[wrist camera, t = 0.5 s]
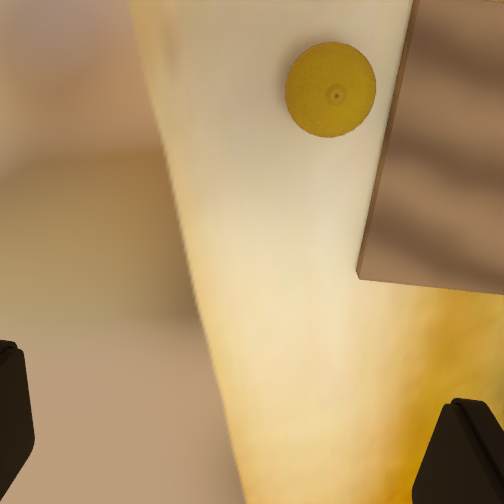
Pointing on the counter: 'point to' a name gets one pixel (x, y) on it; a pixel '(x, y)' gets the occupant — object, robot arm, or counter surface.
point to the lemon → (330, 89)
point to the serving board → (443, 155)
